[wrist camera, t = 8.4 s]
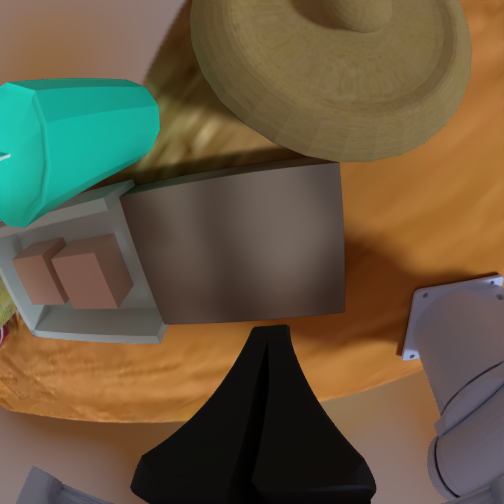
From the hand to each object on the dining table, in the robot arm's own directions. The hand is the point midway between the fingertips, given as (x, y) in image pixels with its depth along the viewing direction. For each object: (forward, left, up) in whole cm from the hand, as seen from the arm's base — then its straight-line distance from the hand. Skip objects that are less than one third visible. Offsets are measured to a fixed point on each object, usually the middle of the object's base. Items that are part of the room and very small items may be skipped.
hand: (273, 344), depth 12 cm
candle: (+9, -9, -10) cm, 17 cm away
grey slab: (+2, 0, -10) cm, 10 cm away
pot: (-4, -12, -10) cm, 16 cm away
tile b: (+19, 0, -9) cm, 21 cm away
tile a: (+14, 0, -9) cm, 17 cm away
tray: (+16, 0, -10) cm, 19 cm away
